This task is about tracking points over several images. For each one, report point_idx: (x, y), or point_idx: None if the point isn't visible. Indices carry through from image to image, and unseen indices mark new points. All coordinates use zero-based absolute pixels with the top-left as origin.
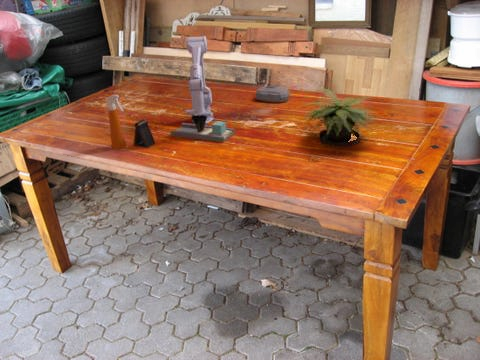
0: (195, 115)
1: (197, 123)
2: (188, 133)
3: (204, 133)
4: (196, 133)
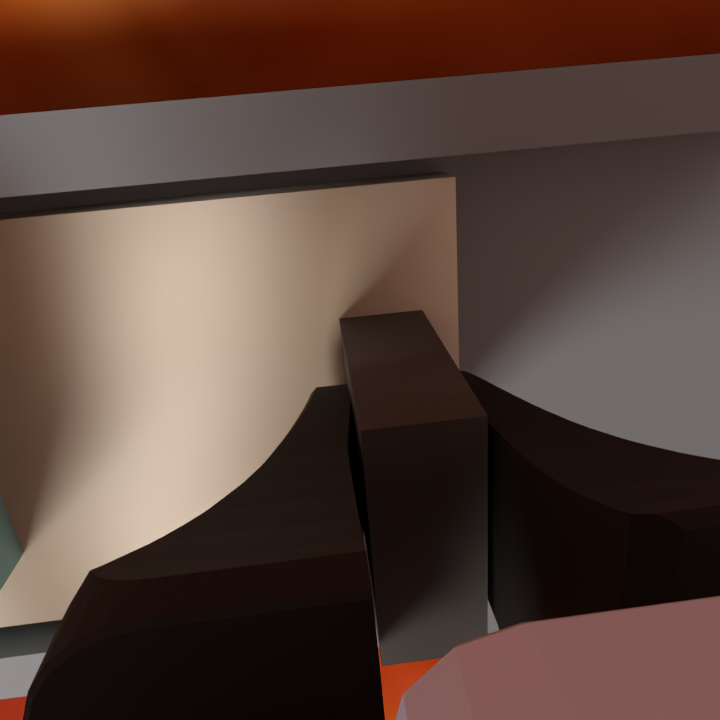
0: (596, 622)
1: (467, 441)
2: (589, 66)
3: (185, 295)
4: (346, 148)
